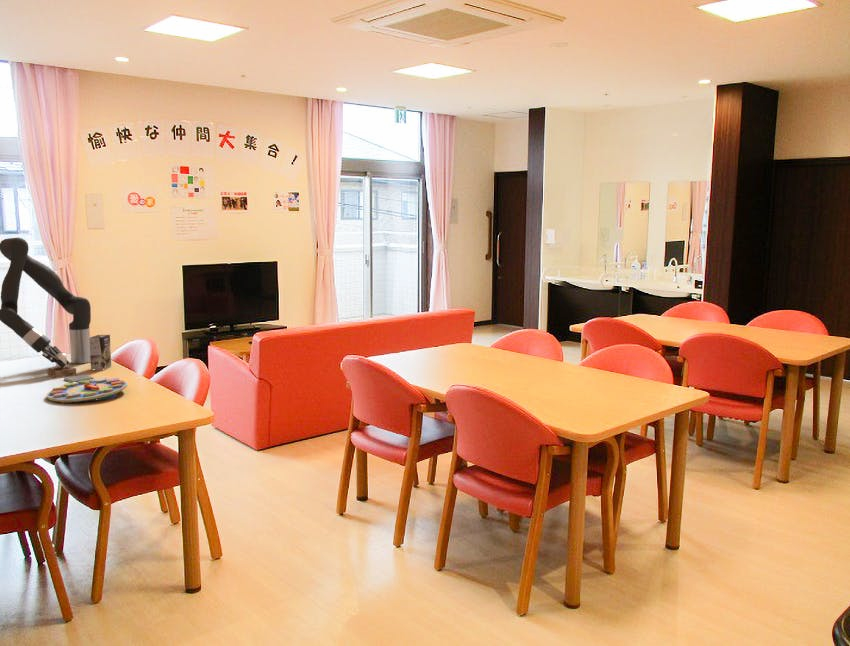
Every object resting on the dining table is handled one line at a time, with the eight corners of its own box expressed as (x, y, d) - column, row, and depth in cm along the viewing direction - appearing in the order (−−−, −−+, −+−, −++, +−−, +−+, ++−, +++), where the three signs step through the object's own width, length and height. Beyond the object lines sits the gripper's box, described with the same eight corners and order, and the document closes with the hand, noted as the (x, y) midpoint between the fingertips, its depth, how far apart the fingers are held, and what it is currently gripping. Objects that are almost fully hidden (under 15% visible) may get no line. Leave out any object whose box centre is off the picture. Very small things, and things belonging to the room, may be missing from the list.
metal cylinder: (64, 373, 341) (63, 352, 339) (69, 374, 338) (68, 353, 337) (55, 374, 337) (53, 353, 336) (59, 376, 335) (58, 355, 333)
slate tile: (83, 376, 334) (83, 374, 334) (93, 379, 329) (93, 377, 329) (64, 380, 327) (64, 377, 327) (73, 383, 322) (73, 380, 322)
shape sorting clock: (46, 391, 308) (46, 377, 307) (124, 384, 322) (123, 371, 321) (46, 408, 281) (45, 393, 280) (131, 400, 295) (130, 386, 294)
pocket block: (67, 371, 344) (66, 365, 344) (76, 374, 338) (76, 368, 338) (47, 375, 337) (47, 368, 337) (56, 377, 331) (56, 371, 331)
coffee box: (103, 370, 348) (101, 337, 346) (90, 370, 348) (88, 337, 346) (112, 366, 357) (110, 334, 355) (99, 366, 357) (97, 334, 355)
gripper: (36, 336, 327) (66, 362, 330) (47, 331, 341) (76, 356, 344) (24, 348, 327) (55, 374, 330) (36, 343, 340) (65, 367, 344)
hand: (65, 365), depth 337 cm, fingers closed on metal cylinder, 4 cm apart
